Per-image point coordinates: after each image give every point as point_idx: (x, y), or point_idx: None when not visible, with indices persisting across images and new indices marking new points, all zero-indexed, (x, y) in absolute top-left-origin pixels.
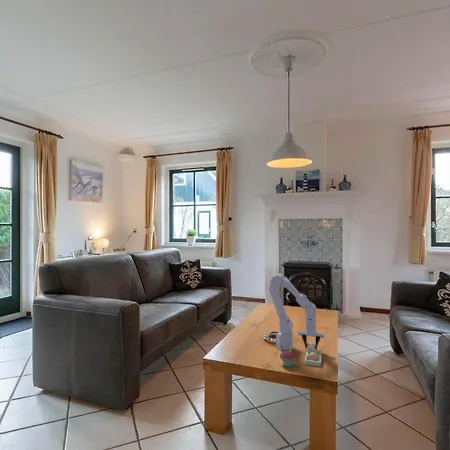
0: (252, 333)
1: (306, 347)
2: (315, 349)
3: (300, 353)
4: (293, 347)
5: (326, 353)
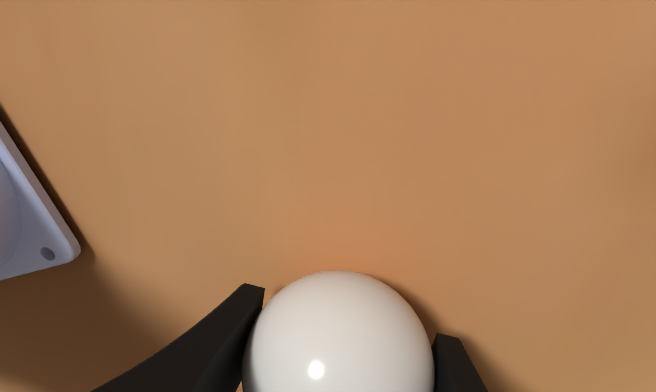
0: None
1: None
2: None
3: None
4: (39, 225)
5: (607, 387)
